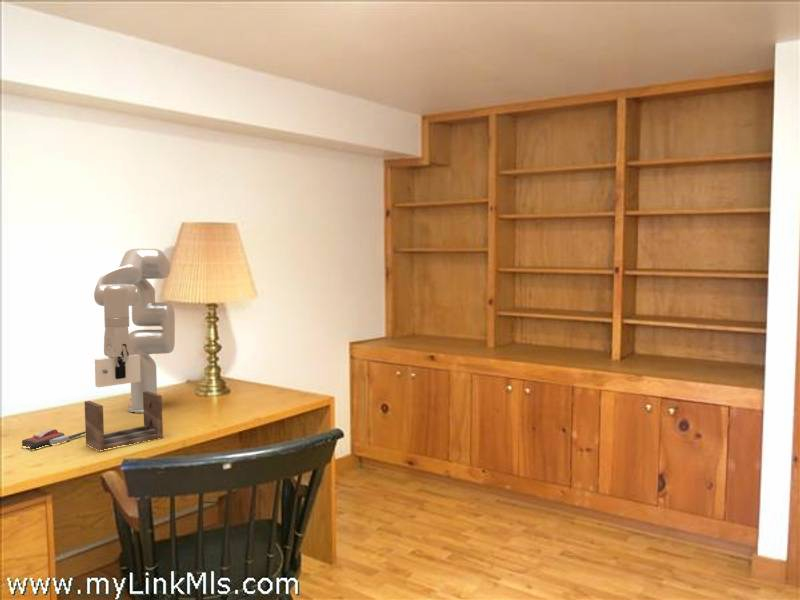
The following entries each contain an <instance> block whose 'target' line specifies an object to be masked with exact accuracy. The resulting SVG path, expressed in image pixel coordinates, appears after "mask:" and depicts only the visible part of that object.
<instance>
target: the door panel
mask: <svg viewBox="0 0 800 600" xmlns="http://www.w3.org/2000/svg"><path fill="white" fill-rule="evenodd" d="M118 357H122V356H118ZM119 361H120V359H119ZM115 367H116V358H112V357H103V358H101V357H100V358H94V375H95V376H94V378H95V379H94V380H95V383H94V384H95V387H96V388H105V387H111V386H119V385H124V384H131V383H134V382H141V377H140V355H137V354H136V355H129V356H128V360H127V361H126V366H125V369H126V378H122V379H116V378H115Z"/></svg>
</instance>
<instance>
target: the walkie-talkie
mask: <svg viewBox="0 0 800 600" xmlns="http://www.w3.org/2000/svg"><path fill="white" fill-rule="evenodd" d="M85 433H86V430H85V431H82V432H78V433H75V434H72V435H65V433H64V432H58V429H55V428H54V429H53V428H49V429H45V430H42V431H41V432H40V433H39V434H37V433H36V434H35V433H34V434H33V436H32V437H29V438H25V439H22V440H21V446H26V447H28V446H29V447H30V449H36V448H39V447H42V446H45V445H52V444H57V443H62V442H64V441H68V440H69V439H70V440H71V439H75V438H78V437H80V436H82V434H83V435H86V434H85ZM77 436H78V437H77ZM70 440H69V441H70ZM30 449H29V450H30Z"/></svg>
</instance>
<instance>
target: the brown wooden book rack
mask: <svg viewBox="0 0 800 600" xmlns="http://www.w3.org/2000/svg"><path fill="white" fill-rule="evenodd" d="M162 397H163V395H161V394H158V393H157V394H155V393H152V392H149V391H145V392H143V408H144V413H143V426H142V425H141V426H138V427H133V428H128V429H122V430H117V431H113V432H108V433H105V429H104V427H105V425H104V405H102V404H99V403H96V402H94V401H91V400H85V401H84V423H85V425H84V426H85V431H86V434H85V445H86V444H87V445H89V446H91V447H93V448H95V449H97V450H99V451H100V450H104V449H108V448H113V447H117V446H122V445H129V444H134V443H137V442H143V441H147V442H149V441H148V440H152V441H154V440H153V439H156V440H159V439H158V438H161V439H163V438H164V433H163V432H164V431H163V430H164V429H163V398H162ZM143 443H144V442H143ZM134 445H135V444H134ZM129 446H130V445H129Z"/></svg>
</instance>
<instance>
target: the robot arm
mask: <svg viewBox="0 0 800 600" xmlns="http://www.w3.org/2000/svg"><path fill="white" fill-rule="evenodd" d="M121 259H122V260H121V261H120V264H119V266H118V267H117V268H116V267H115V268H114V269H113V270H110V271H108V272H106V273H104V274H103V275H102V276H101V277H99V279H98V281H97V283H96V286H95V288H94V293H93V296H94V301H95V303H96V304H97V305H98V306H100V307H104V308H103V310H104V311H103V312H104V335H103V337H104V338H103V353H104V356H106V357H107V358H109V357H112V358H116V367H115V378H116V379H122V378H126V369H125V366H126V361H127V360H128V356H129V355H136V354H137V355H140V377H141V382H134V383H130V396H131V397H130V399H129V400H130V402H131V403H130V405H129V406H127V409H126V410H128V411H127V412H129V413H132V412H135V413H134V414H144V408H143V392H145V391H149V392H152V393H155V394H158V382H157V379H158V377H157V363H156V362H155V360H154V358H152V357H151V355H156V354H157V355H158V354H159V355H161V354H163V355H165V354H170V353H172V352H173V351H174V349H175V342H176V341H175V339H176V337H175V335H176V334H175V333H176V327H175V326H176V317H175V314H176V313H175V308H174V306H173V304H172V303H170V302H165V301H162V302H161V301H160V302H159V301H158V302H157V301H156V290H155V288H154V286H153V285H152V284H151V282H150V281H148V280H150V279H151V280H157V279H159V280H162V279H163V280H164V279H167V278H168V277H169V276H170V275H171V274H170V273H171V263H170V260H169V259H168V257H167V255H166V254H165V253H164V252H163V251H162V250H160V249H159V248H158V249H157V248H131V249H129V250H127V251H125V253H124V254H123V257H122V258H121ZM130 307H131V320H132V323H133V324H134V326H136V327H161V328H162V329H136V330H133V331H130V333H129V327H130ZM118 356H122V357H118ZM119 359H120V361H119Z"/></svg>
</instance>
